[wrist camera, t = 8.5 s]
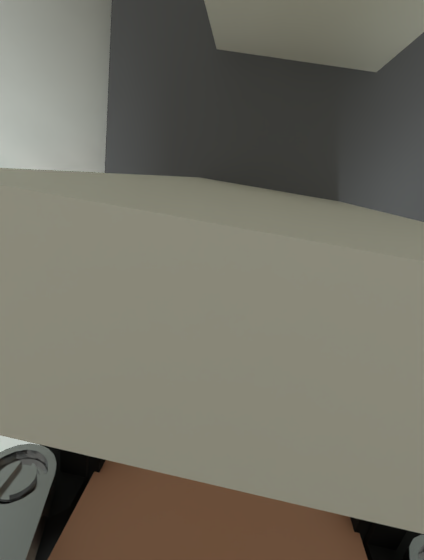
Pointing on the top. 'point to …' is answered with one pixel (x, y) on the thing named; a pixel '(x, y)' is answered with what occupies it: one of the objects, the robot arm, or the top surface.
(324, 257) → the domino
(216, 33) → the domino
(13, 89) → the top surface
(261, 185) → the mat
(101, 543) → the terracotta domino
